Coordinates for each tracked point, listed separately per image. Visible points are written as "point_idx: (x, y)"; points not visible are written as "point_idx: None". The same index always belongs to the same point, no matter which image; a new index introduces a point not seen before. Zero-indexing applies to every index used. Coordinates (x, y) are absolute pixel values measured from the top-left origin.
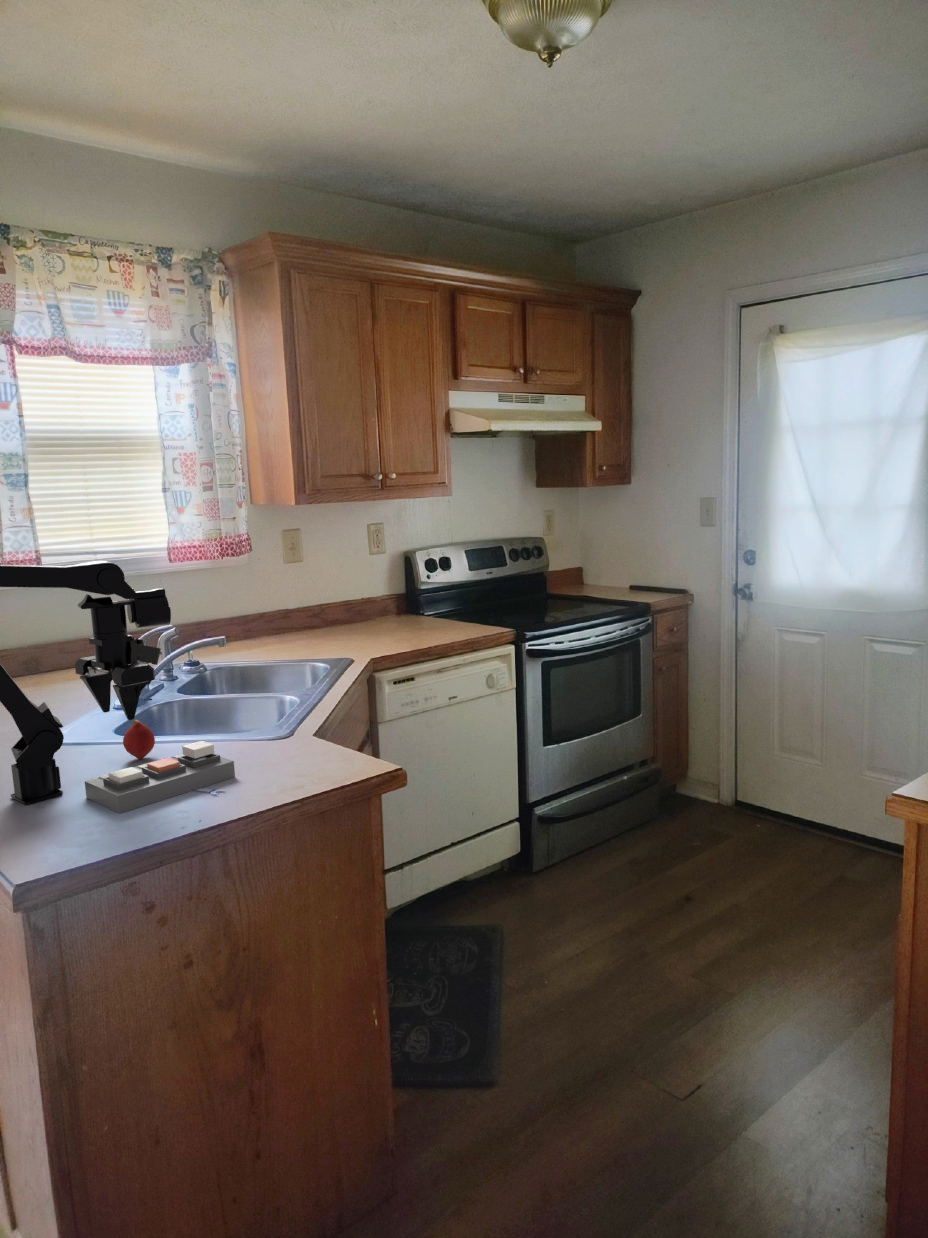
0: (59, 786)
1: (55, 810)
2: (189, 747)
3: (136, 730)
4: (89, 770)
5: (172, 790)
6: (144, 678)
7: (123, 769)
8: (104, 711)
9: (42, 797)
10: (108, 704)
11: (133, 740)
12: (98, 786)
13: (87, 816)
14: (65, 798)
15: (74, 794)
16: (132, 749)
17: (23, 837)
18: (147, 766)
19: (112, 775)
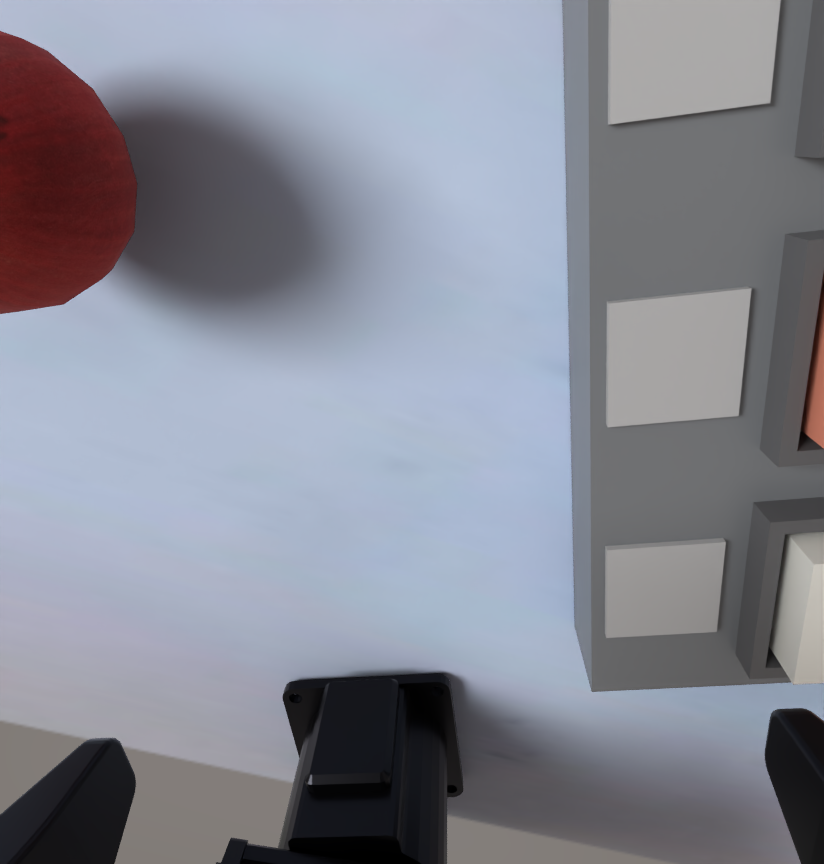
0: (397, 692)
1: (614, 738)
2: None
3: None
4: (130, 480)
5: None
6: None
7: (818, 611)
8: (133, 795)
9: (454, 748)
10: (67, 835)
11: (77, 269)
12: (745, 680)
13: (810, 691)
14: (497, 676)
15: (474, 639)
16: (112, 268)
17: (789, 860)
18: (817, 441)
19: None
